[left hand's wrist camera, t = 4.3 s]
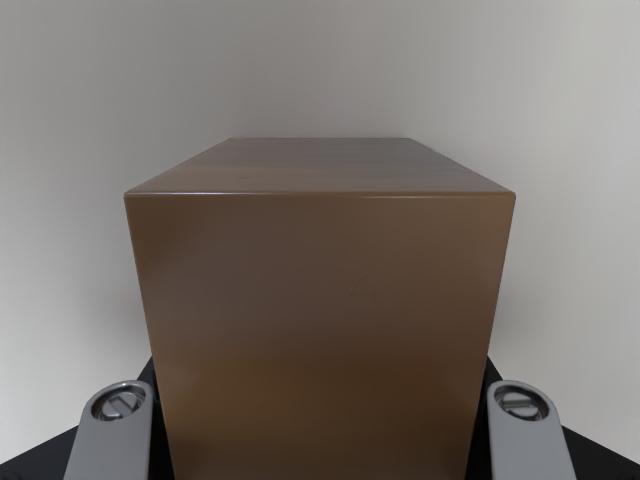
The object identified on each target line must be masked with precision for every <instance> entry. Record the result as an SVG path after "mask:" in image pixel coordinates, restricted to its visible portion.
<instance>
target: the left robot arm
mask: <svg viewBox="0 0 640 480" xmlns="http://www.w3.org/2000/svg"><path fill="white" fill-rule="evenodd" d="M0 480H175V477H174V472H173V466H172V461H171V455H170V450H169V444H168V439H167V433H166V428H165V422H164V417H163V411H162V406H161V400H160V395H159V389H158V384H157V378H156V373H155V367H154V362H153V356H151V358H150V360H149V361H148V363H147V364H146V366H145V367H144V369H143V371H142V372H141V374H140V375H139V377H138V378H137V380H128V381H122V382H118V383H115V384H112V385H110V386H108V387H106V388H104V389H102V390H100V391H99V392H98V393H96V394H95V395H94V396H93V397H92V398H91V399H90V400H89V401H88V402H87V404H86V406H85V408H84V409H83V413H82V416H81V420H80V423H79V425H78V426H76V427H74V428H72V429H70V430H68V431H66V432H64V433H62V434H60V435H58V436H56V437H54V438H52V439H50V440H48V441H46V442H44V443H42V444H40V445H38V446H36V447H34V448H32V449H30V450H28V451H26V452H24V453H22V454H20V455H18V456H16V457H14V458H12V459H10V460H8V461H6V462H4V463H3V464H1V465H0ZM465 480H640V465H639V464H637V463H635V462H633V461H631V460H629V459H627V458H625V457H623V456H621V455H619V454H617V453H616V452H614V451H612V450H610V449H608V448H606V447H604V446H602V445H600V444H598V443H596V442H594V441H592V440H590V439H588V438H586V437H584V436H582V435H580V434H578V433H576V432H574V431H572V430H570V429H568V428H566V427H564V426H562V425H561V423H560V420H559V416H558V413H557V409H556V408H555V406H554V404H553V402H552V401H551V400H550V399H549V398H548V397H547V396H546V395H545V394H544V393H542V392H541V391H540V390H538V389H536V388H534V387H532V386H530V385H528V384H525V383H522V382H518V381H512V380H503V379H502V377H501V376H500V374H499V373H498V371H497V370H496V368H495V366H494V365H493V363H492V362H491V360H490V358H489V357H488V355H487V359H486V364H485V370H484V375H483V381H482V386H481V392H480V397H479V403H478V408H477V414H476V419H475V425H474V430H473V436H472V441H471V447H470V452H469V458H468V463H467V469H466V474H465Z"/></svg>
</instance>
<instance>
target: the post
mask: <svg viewBox="0 0 640 480" xmlns="http://www.w3.org/2000/svg"><path fill="white" fill-rule="evenodd" d="M515 200H516V195H515V193H514V192H512V191H510V190H508V189H506V188H505V187H503V186H501V185H499V184H497V183H495V182H493V181H491V180H489V179H487V178H485V177H483V176H481V175H480V174H478V173H476V172H474V171H472V170H470V169H468V168H466V167H464V166H462V165H460V164H458V163H457V162H455V161H453V160H451V159H449V158H447V157H445V156H443V155H441V154H439V153H437V152H435V151H433V150H432V149H430V148H428V147H426V146H424V145H422V144H420V143H418V142H416V141H414V140H412V139H410V138H229V139H227V140H225V141H224V142H222V143H220V144H218V145H216V146H214V147H212V148H210V149H208V150H206V151H204V152H202V153H200V154H198V155H197V156H195V157H193V158H191V159H189V160H187V161H185V162H183V163H181V164H179V165H177V166H175V167H173V168H171V169H170V170H168V171H166V172H164V173H162V174H160V175H158V176H156V177H154V178H152V179H150V180H148V181H146V182H144V183H143V184H141V185H139V186H137V187H135V188H133V189H131V190H129V191H127V192H125V193H124V203H125V208H126V214H127V219H128V225H129V230H130V236H131V241H132V247H133V252H134V258H135V263H136V268H137V274H138V279H139V285H140V290H141V296H142V301H143V307H144V312H145V318H146V323H147V329H148V334H149V340H150V345H151V351H152V356H153V362H154V367H155V373H156V378H157V384H158V389H159V395H160V400H161V406H162V411H163V417H164V422H165V428H166V433H167V439H168V444H169V450H170V455H171V461H172V466H173V472H174V477H175V480H465V474H466V469H467V463H468V458H469V452H470V447H471V441H472V436H473V430H474V425H475V419H476V414H477V408H478V403H479V397H480V392H481V386H482V381H483V375H484V370H485V364H486V359H487V354H488V348H489V343H490V337H491V332H492V326H493V321H494V315H495V310H496V304H497V299H498V293H499V288H500V282H501V277H502V271H503V266H504V260H505V255H506V249H507V244H508V238H509V233H510V227H511V222H512V216H513V211H514V205H515Z"/></svg>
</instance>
